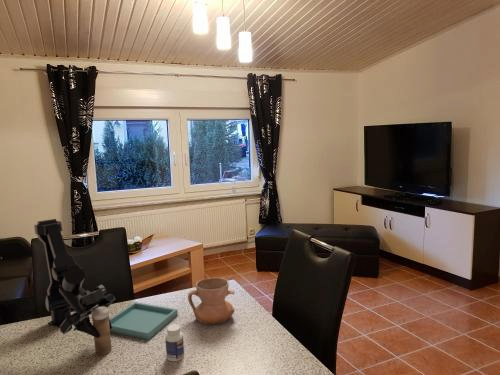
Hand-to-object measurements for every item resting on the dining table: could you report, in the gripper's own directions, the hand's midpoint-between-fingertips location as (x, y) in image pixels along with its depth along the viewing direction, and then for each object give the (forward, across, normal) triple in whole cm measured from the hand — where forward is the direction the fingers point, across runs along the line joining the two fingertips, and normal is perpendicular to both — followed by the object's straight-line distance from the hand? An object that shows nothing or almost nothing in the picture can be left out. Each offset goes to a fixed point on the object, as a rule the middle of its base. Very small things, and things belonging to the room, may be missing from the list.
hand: (105, 332), depth 114 cm
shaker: (+4, 0, +6) cm, 7 cm away
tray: (+4, +19, +6) cm, 20 cm away
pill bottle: (+21, +5, -11) cm, 24 cm away
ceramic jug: (+21, +30, -11) cm, 38 cm away
